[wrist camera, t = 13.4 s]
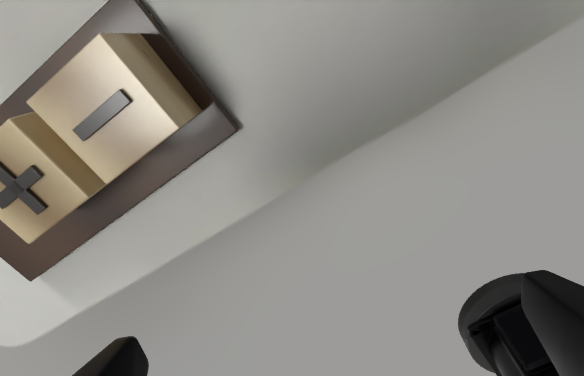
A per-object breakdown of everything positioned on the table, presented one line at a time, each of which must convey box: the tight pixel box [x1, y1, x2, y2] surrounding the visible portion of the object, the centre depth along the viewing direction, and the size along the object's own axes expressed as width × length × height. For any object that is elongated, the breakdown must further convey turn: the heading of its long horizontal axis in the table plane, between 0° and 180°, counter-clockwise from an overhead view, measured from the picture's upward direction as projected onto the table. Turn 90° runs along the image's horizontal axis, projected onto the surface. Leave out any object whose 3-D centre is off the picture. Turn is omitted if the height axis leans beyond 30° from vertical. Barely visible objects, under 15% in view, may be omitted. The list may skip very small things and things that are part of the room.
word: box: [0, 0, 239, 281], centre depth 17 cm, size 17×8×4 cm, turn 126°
